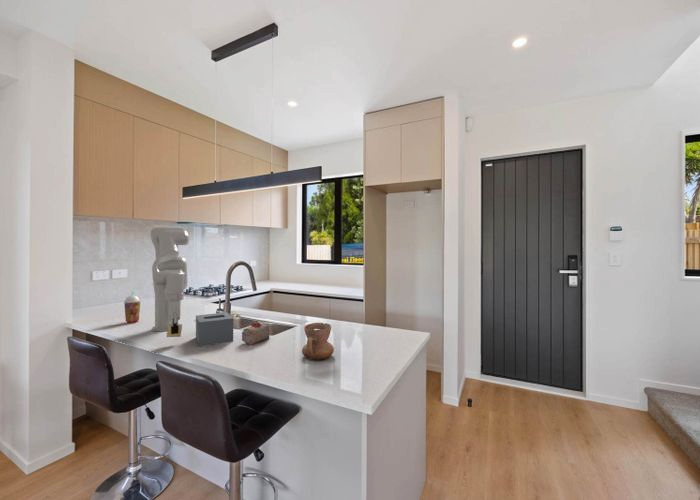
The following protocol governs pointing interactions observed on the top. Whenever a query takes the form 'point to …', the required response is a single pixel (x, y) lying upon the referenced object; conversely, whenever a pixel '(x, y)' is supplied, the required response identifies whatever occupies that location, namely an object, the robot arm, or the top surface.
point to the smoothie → (132, 308)
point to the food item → (255, 333)
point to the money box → (214, 328)
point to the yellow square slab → (174, 334)
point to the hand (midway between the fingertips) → (174, 332)
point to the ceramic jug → (317, 341)
